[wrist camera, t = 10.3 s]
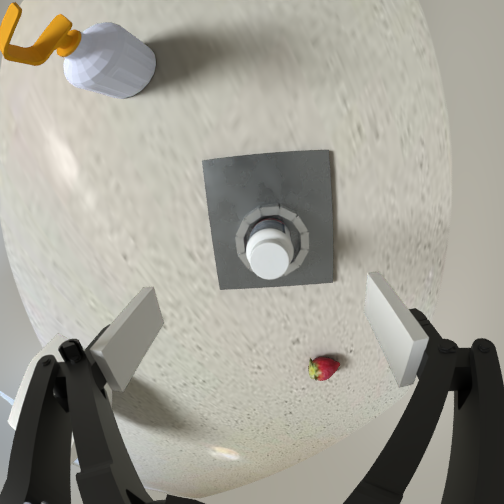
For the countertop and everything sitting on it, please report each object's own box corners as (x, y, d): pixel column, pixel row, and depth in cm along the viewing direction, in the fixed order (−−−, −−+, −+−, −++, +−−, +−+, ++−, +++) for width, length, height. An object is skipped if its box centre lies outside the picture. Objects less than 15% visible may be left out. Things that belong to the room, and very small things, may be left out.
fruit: (333, 370, 43) (338, 390, 39) (302, 366, 43) (304, 386, 39) (342, 353, 42) (348, 372, 37) (310, 348, 42) (313, 368, 37)
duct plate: (203, 160, 34) (197, 160, 31) (327, 150, 32) (332, 149, 29) (221, 287, 39) (217, 296, 36) (331, 280, 38) (335, 289, 35)
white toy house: (112, 408, 54) (74, 478, 31) (65, 380, 53) (21, 441, 30) (113, 365, 48) (57, 451, 24) (58, 332, 47) (-6, 400, 24)
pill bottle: (242, 232, 36) (231, 254, 27) (275, 209, 34) (275, 224, 26) (266, 263, 37) (263, 294, 28) (298, 242, 35) (305, 267, 27)
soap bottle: (169, 64, 29) (53, -15, 6) (125, 110, 32) (-16, 87, 9) (135, 36, 27) (28, -29, 4) (96, 80, 30) (-28, 51, 7)
